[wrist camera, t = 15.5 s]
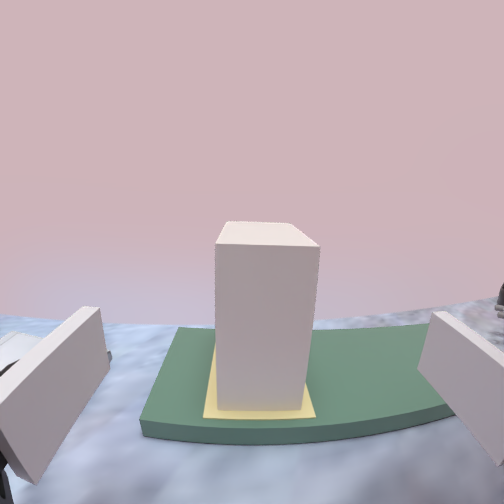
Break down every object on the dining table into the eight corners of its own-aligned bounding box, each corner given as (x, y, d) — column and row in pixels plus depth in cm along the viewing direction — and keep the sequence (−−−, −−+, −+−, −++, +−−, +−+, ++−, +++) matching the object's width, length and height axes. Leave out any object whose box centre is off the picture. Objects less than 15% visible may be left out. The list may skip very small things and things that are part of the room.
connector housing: (282, 336, 26) (290, 223, 24) (300, 410, 17) (320, 246, 15) (225, 336, 26) (226, 221, 24) (217, 410, 16) (215, 243, 14)
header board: (451, 332, 29) (462, 287, 28) (520, 389, 16) (542, 332, 15) (179, 341, 28) (176, 286, 27) (143, 436, 15) (127, 364, 14)
